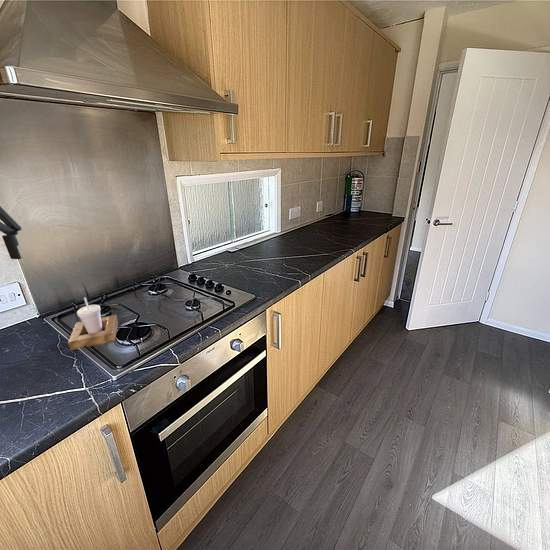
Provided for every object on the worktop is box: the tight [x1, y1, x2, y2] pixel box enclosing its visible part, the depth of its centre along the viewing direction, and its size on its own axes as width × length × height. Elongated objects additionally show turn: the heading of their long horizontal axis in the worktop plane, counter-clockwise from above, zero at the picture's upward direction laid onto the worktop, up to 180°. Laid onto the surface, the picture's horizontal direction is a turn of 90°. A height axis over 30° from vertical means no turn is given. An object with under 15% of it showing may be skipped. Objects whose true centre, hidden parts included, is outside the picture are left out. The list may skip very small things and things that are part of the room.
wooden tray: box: [67, 314, 119, 351], centre depth 95 cm, size 12×12×3 cm
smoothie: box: [76, 296, 104, 334], centre depth 92 cm, size 6×6×14 cm
